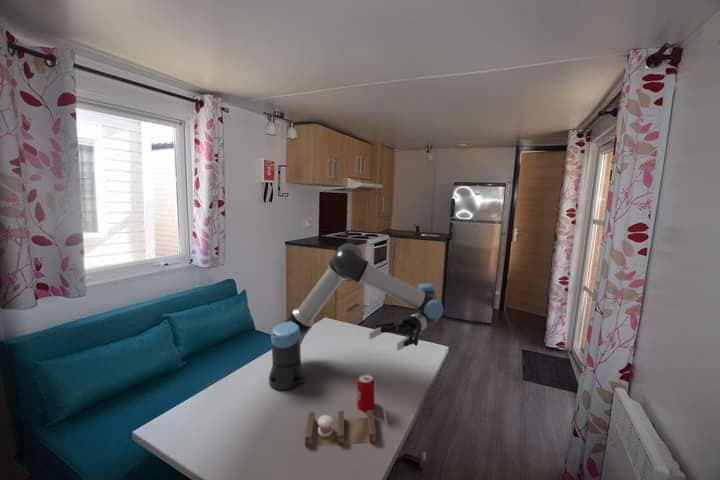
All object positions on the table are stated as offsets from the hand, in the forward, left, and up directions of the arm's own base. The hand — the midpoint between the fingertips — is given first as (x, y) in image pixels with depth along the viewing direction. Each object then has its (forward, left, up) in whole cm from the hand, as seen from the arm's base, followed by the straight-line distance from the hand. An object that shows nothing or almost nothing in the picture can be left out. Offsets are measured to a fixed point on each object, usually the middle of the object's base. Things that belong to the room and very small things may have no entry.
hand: (383, 341), depth 118 cm
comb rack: (-16, -19, -23) cm, 34 cm away
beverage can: (-7, -7, -23) cm, 25 cm away
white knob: (-21, -19, -22) cm, 36 cm away
